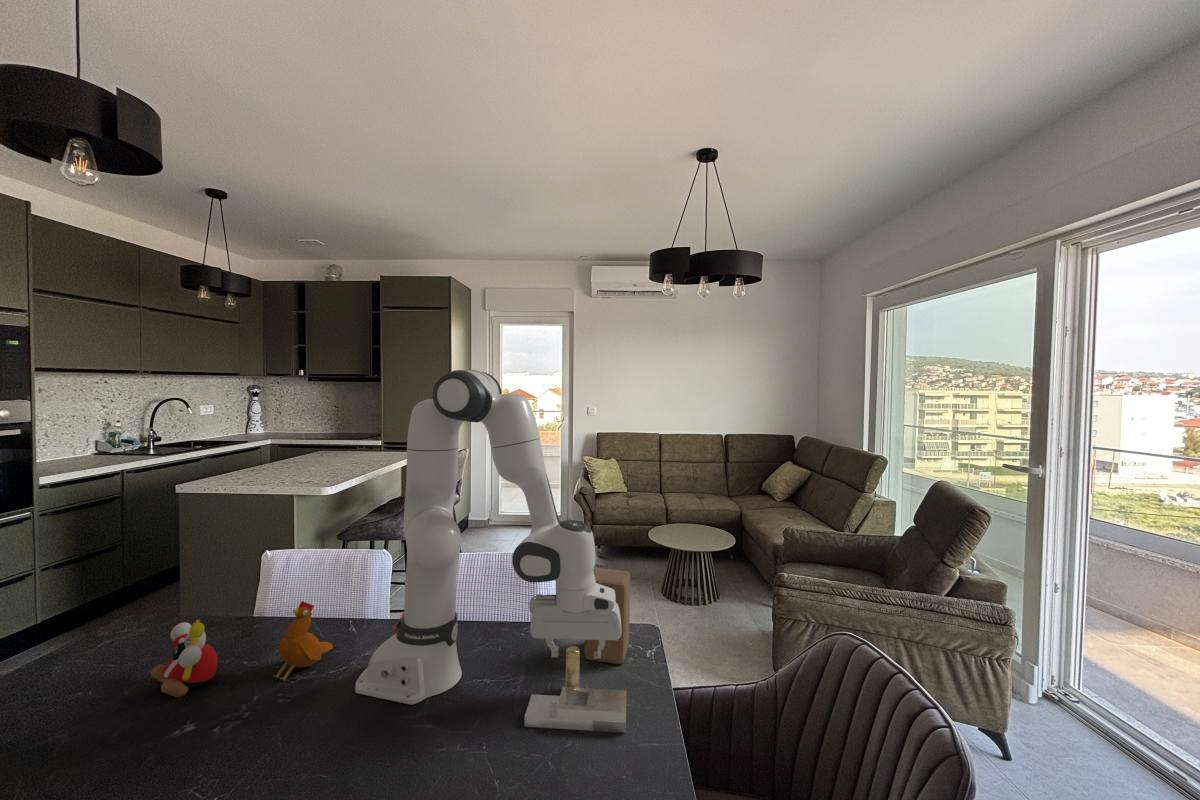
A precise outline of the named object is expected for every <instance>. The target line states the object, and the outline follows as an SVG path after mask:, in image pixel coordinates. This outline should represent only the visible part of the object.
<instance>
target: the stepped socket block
mask: <svg viewBox="0 0 1200 800" xmlns="http://www.w3.org/2000/svg"><path fill="white" fill-rule="evenodd" d="M561 687H562V688H561V691H560V695H552V694H551V695H549V694H547V695H546V694H536V693H535V694H531V695H530V699H529V702H528V706H527V707H526V711H525V714H524V721H523V722H524V727H528V728H544V729H545V728H546V729H556V730H557V729H561V730H574V731H576V730H577V731H590V732H604V733H605V732H606V733H620V734H622V733H623V734H626V733H627V731H626V730H627V690H625V689H624V690H621V689H607V688H606V689H603V688H589V687H588V688H587V687H579V688H574V687H566V686H561Z"/></svg>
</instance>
